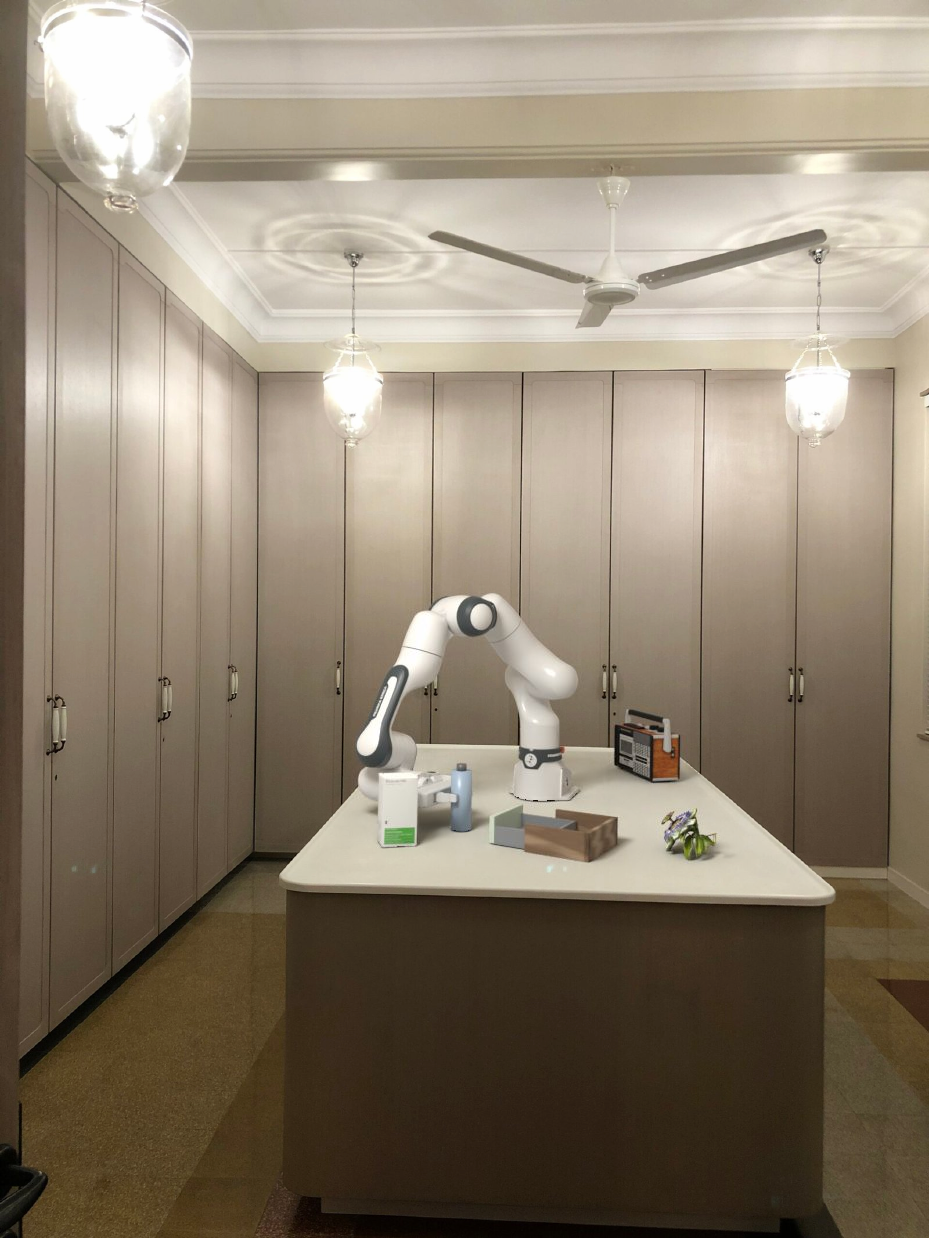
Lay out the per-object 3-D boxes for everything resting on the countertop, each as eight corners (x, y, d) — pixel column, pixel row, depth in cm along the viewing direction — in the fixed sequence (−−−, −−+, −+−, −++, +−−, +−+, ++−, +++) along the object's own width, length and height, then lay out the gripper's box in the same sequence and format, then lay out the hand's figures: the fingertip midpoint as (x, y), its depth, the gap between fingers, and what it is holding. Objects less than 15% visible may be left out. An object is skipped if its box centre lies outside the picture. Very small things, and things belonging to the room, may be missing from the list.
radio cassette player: (612, 767, 291) (612, 708, 291) (640, 766, 294) (640, 708, 294) (652, 784, 263) (653, 719, 263) (682, 783, 266) (683, 718, 265)
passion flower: (669, 875, 190) (656, 824, 196) (718, 867, 189) (703, 816, 196) (671, 859, 180) (658, 805, 187) (723, 850, 180) (707, 797, 187)
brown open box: (556, 834, 203) (557, 808, 203) (617, 843, 195) (617, 817, 195) (524, 851, 188) (524, 824, 188) (588, 862, 180) (588, 833, 180)
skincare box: (381, 848, 189) (381, 778, 189) (376, 840, 196) (376, 772, 196) (418, 846, 192) (419, 776, 191) (412, 838, 198) (413, 771, 198)
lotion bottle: (457, 825, 210) (458, 761, 209) (475, 827, 207) (475, 763, 207) (446, 829, 205) (447, 764, 205) (464, 832, 203) (465, 766, 203)
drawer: (518, 829, 206) (518, 803, 206) (576, 838, 199) (576, 811, 199) (489, 843, 194) (489, 816, 194) (549, 853, 186) (550, 824, 186)
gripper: (392, 783, 204) (441, 790, 197) (437, 770, 221) (484, 775, 214) (391, 810, 204) (441, 817, 197) (437, 794, 221) (484, 800, 214)
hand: (464, 795), depth 206 cm, fingers closed on lotion bottle, 5 cm apart
